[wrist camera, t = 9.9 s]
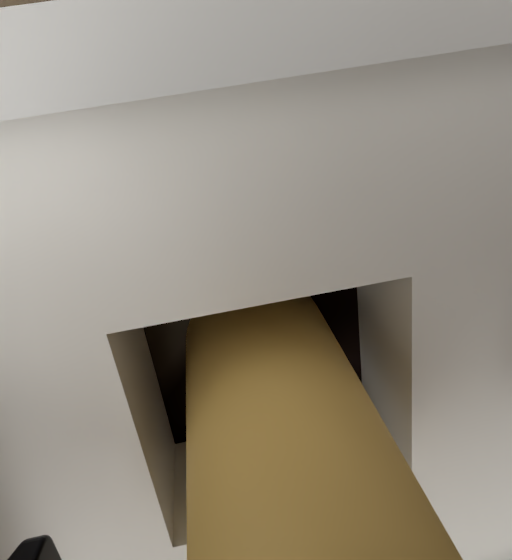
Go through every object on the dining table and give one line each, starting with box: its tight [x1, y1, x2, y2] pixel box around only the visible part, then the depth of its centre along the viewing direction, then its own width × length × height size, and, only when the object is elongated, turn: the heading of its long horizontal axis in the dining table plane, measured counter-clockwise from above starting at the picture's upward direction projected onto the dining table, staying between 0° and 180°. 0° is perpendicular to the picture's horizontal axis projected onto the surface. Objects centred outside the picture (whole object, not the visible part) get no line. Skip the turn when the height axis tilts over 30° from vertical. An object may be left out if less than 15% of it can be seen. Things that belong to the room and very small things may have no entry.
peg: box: [186, 296, 463, 560], centre depth 10 cm, size 4×4×8 cm
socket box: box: [0, 0, 512, 560], centre depth 11 cm, size 16×16×6 cm
